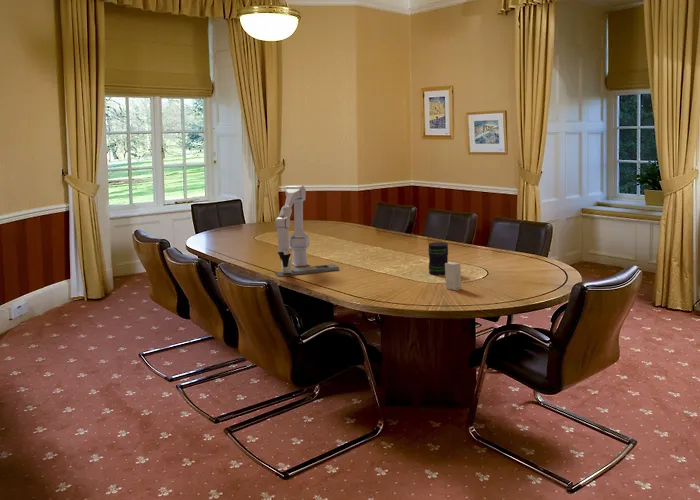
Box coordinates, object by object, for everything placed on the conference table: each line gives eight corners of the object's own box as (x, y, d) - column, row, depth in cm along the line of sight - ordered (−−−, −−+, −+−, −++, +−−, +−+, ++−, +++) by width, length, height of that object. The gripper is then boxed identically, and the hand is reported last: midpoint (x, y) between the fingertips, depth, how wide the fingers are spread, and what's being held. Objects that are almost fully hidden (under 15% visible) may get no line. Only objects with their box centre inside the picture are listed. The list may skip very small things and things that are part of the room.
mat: (275, 273, 361) (274, 272, 361) (291, 271, 364) (291, 270, 364) (278, 276, 353) (278, 276, 353) (295, 275, 356) (295, 274, 355)
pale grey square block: (281, 271, 360) (281, 258, 359) (290, 270, 361) (289, 257, 360) (283, 273, 356) (282, 260, 354) (291, 272, 357) (291, 259, 355)
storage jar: (425, 272, 350) (425, 243, 348) (443, 270, 353) (442, 241, 350) (433, 276, 341) (433, 246, 338) (451, 274, 344) (451, 244, 341)
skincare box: (461, 289, 314) (461, 263, 312) (455, 290, 311) (455, 264, 309) (451, 286, 319) (450, 261, 316) (444, 288, 316) (444, 263, 313)
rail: (291, 271, 363) (290, 268, 363) (334, 267, 371) (334, 263, 370) (294, 275, 356) (294, 271, 356) (338, 270, 363) (338, 266, 363)
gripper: (293, 241, 349) (294, 268, 352) (288, 237, 363) (290, 262, 365) (279, 243, 347) (281, 269, 350) (275, 238, 361) (277, 263, 364)
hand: (284, 266), depth 358 cm, fingers closed on pale grey square block, 4 cm apart
